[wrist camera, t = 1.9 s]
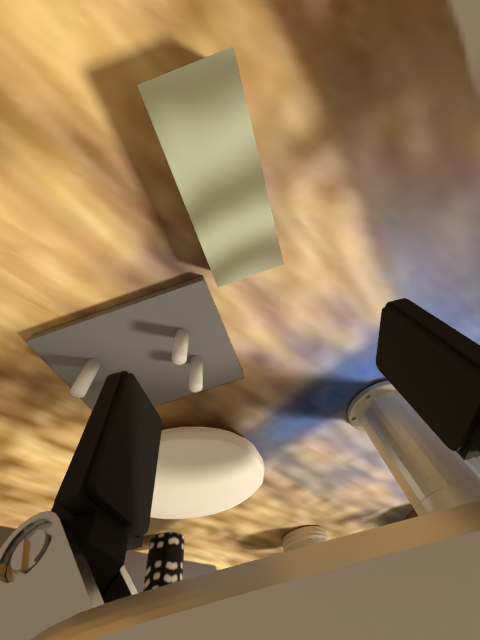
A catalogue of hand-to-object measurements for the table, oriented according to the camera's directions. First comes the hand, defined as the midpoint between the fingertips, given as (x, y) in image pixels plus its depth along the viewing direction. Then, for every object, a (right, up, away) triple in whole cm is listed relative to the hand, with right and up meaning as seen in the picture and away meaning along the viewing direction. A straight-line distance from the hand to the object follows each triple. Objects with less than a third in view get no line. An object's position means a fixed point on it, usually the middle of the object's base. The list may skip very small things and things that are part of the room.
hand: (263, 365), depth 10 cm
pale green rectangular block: (-3, +15, +16) cm, 22 cm away
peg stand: (-13, -3, +25) cm, 28 cm away
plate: (-10, -25, +39) cm, 47 cm away
